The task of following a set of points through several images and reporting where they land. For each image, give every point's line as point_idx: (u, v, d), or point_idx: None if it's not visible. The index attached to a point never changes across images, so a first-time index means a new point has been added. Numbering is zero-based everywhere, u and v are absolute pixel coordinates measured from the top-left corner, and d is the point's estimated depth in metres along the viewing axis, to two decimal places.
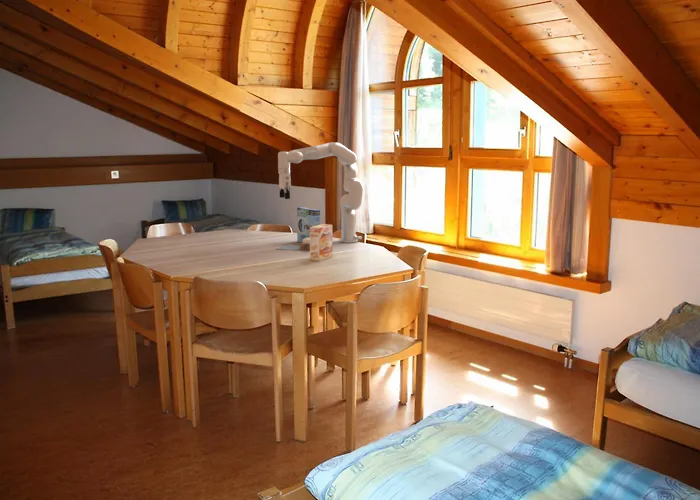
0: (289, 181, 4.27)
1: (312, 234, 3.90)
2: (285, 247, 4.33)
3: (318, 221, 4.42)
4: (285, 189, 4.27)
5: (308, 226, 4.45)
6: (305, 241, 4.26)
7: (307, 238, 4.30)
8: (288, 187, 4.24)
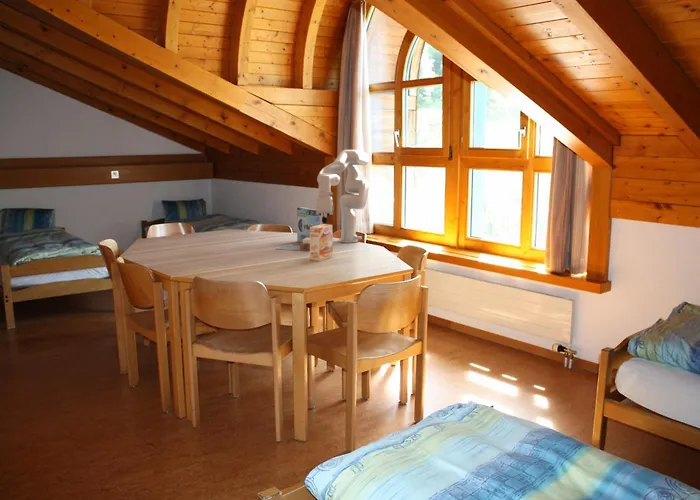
0: (332, 204, 4.23)
1: (312, 234, 3.90)
2: (285, 247, 4.33)
3: (318, 221, 4.42)
4: (327, 214, 4.22)
5: (308, 226, 4.45)
6: (305, 241, 4.26)
7: (307, 238, 4.30)
8: (331, 214, 4.22)
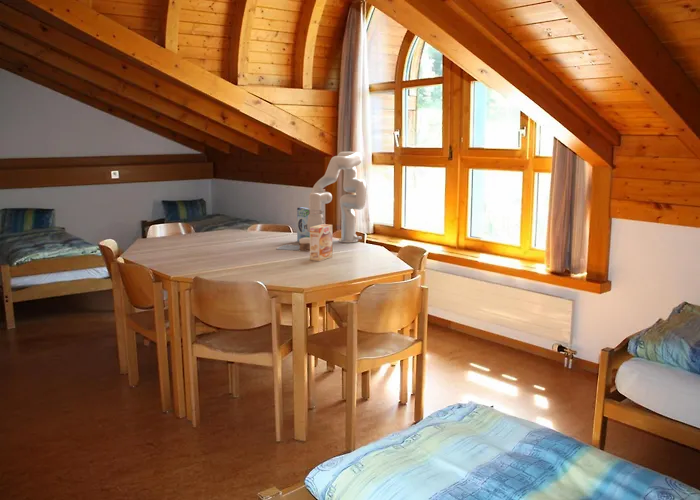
0: (323, 222, 4.26)
1: (312, 234, 3.90)
2: (285, 247, 4.33)
3: None
4: None
5: None
6: (302, 241, 4.27)
7: (304, 238, 4.31)
8: None
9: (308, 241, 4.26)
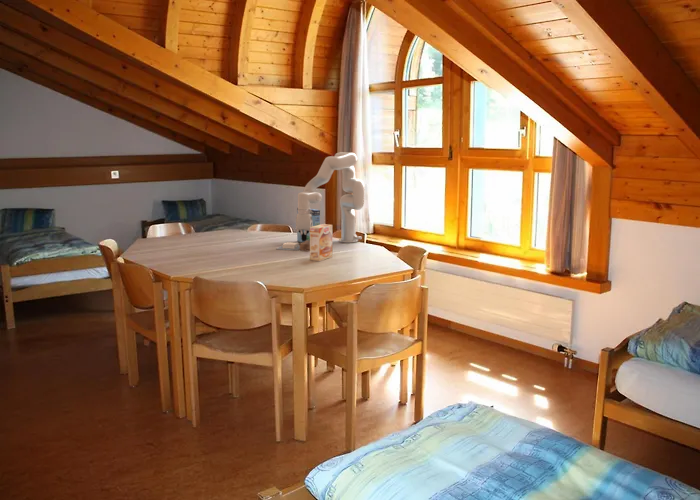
0: None
1: (312, 234, 3.90)
2: None
3: (318, 221, 4.42)
4: (306, 232, 4.27)
5: None
6: (291, 246, 4.29)
7: None
8: None
9: (285, 246, 4.30)
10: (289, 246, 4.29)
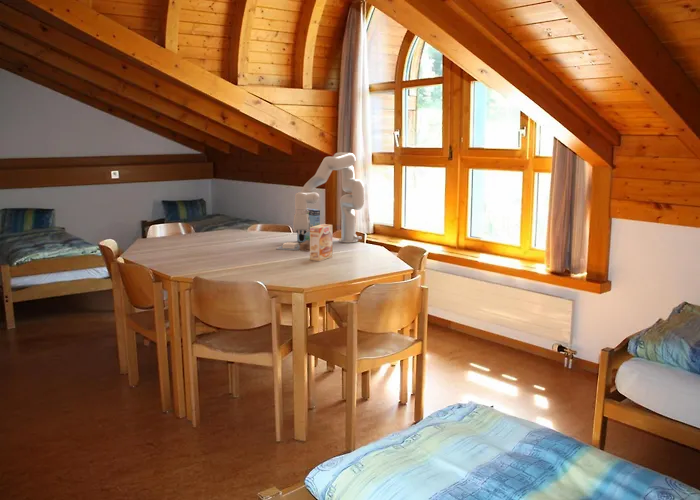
0: (309, 221, 4.29)
1: (312, 234, 3.90)
2: None
3: (318, 221, 4.42)
4: (303, 231, 4.28)
5: None
6: (291, 246, 4.29)
7: None
8: (308, 231, 4.28)
9: (285, 246, 4.30)
10: (289, 246, 4.29)
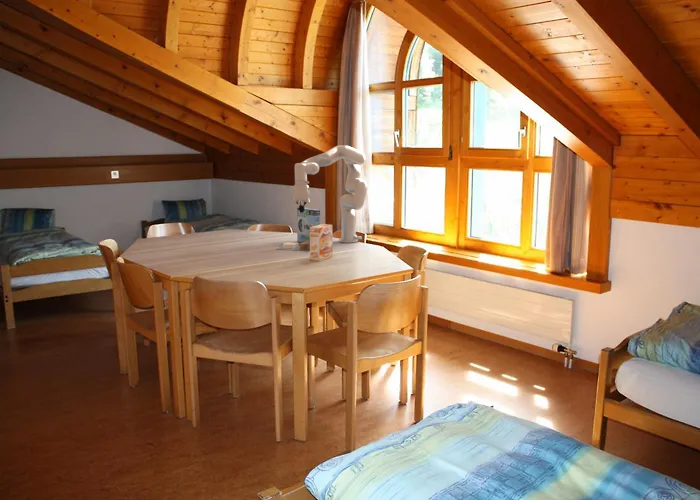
0: (309, 192, 4.26)
1: (312, 234, 3.90)
2: None
3: (318, 221, 4.42)
4: (303, 203, 4.25)
5: (308, 226, 4.45)
6: (291, 246, 4.29)
7: None
8: (308, 202, 4.25)
9: (285, 246, 4.30)
10: (289, 246, 4.29)
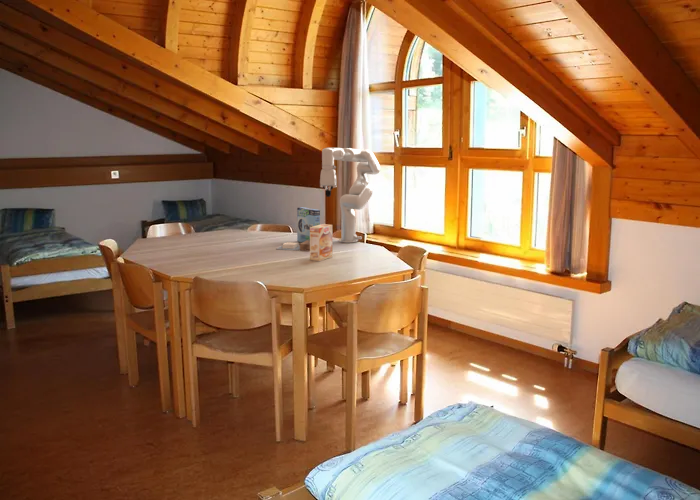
0: None
1: (312, 234, 3.90)
2: None
3: (318, 221, 4.42)
4: (330, 187, 4.32)
5: (308, 226, 4.45)
6: (291, 246, 4.29)
7: None
8: None
9: (285, 246, 4.30)
10: (289, 246, 4.29)
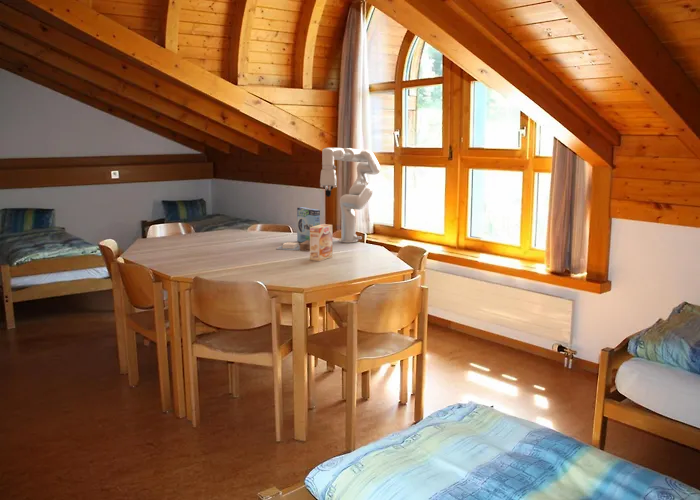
0: (336, 177, 4.33)
1: (312, 234, 3.90)
2: None
3: (318, 221, 4.42)
4: (330, 187, 4.32)
5: (308, 226, 4.45)
6: (291, 246, 4.29)
7: None
8: None
9: (285, 246, 4.30)
10: (289, 246, 4.29)
